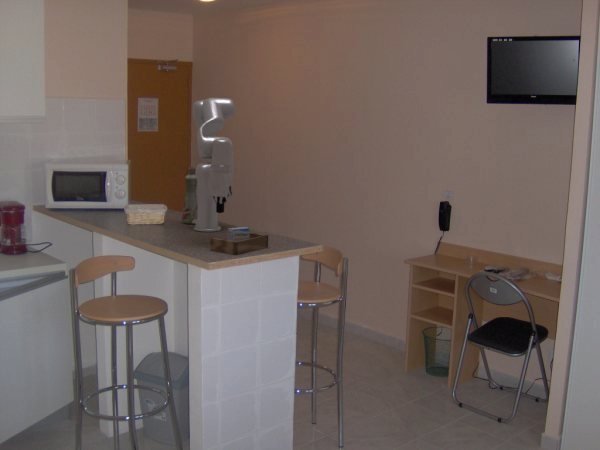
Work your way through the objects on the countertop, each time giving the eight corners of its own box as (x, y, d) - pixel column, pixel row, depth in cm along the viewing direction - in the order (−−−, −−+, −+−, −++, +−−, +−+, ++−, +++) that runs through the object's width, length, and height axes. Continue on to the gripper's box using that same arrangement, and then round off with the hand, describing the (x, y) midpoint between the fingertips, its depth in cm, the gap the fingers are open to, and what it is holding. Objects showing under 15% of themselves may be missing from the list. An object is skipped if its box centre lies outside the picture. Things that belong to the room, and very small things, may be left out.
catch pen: (210, 250, 289) (210, 238, 289) (243, 242, 307) (243, 231, 306) (235, 254, 282) (236, 242, 281) (267, 247, 300) (268, 235, 299)
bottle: (196, 225, 347) (196, 167, 342) (178, 224, 348) (178, 166, 344) (202, 222, 355) (202, 166, 350) (185, 221, 357) (185, 165, 352)
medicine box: (232, 250, 291) (233, 229, 289) (227, 248, 294) (227, 227, 293) (249, 248, 295) (249, 228, 294) (243, 246, 299) (244, 226, 298)
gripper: (201, 167, 296) (200, 211, 300) (229, 171, 288) (228, 216, 292) (213, 166, 302) (212, 208, 306) (240, 170, 294) (239, 213, 298)
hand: (220, 212), depth 299 cm, fingers closed
